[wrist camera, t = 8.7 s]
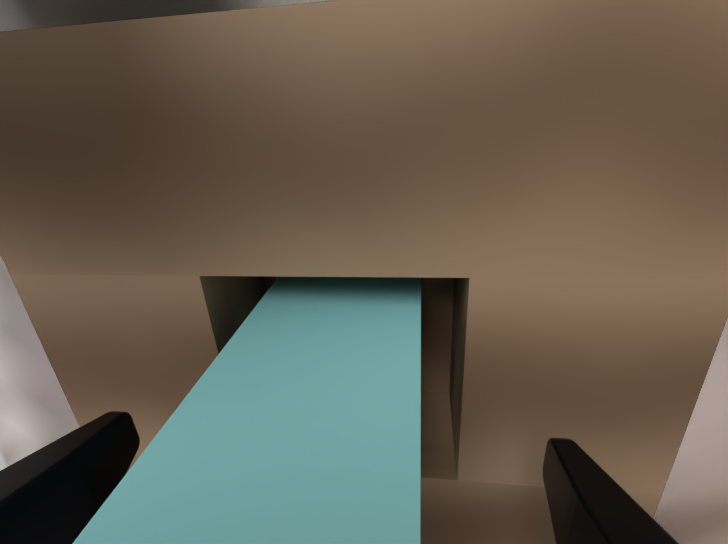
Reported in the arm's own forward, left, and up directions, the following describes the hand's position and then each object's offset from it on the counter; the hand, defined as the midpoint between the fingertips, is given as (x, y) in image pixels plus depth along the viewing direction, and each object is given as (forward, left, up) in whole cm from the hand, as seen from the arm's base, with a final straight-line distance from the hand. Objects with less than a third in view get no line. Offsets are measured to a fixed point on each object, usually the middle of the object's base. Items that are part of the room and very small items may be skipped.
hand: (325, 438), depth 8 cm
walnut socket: (0, 0, -6) cm, 6 cm away
